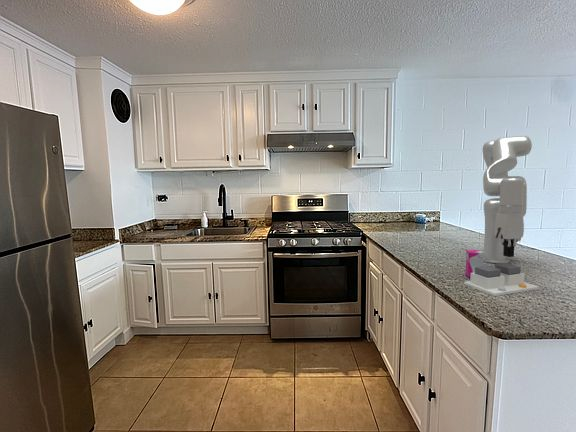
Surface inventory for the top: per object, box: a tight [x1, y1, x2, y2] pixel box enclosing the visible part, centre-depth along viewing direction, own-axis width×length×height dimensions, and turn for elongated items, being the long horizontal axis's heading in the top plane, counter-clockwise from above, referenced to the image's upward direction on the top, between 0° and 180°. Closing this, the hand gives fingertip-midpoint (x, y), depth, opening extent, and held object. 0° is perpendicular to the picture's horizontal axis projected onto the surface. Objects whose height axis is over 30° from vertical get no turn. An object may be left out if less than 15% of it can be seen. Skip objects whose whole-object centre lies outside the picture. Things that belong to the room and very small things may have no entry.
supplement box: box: [465, 249, 485, 279], centre depth 137 cm, size 6×6×12 cm
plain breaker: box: [475, 265, 501, 278], centre depth 125 cm, size 6×6×4 cm
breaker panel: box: [464, 272, 540, 297], centre depth 125 cm, size 21×14×5 cm, turn 105°
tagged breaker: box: [494, 263, 522, 275], centre depth 127 cm, size 6×6×4 cm
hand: (508, 256), depth 126 cm, fingers closed
